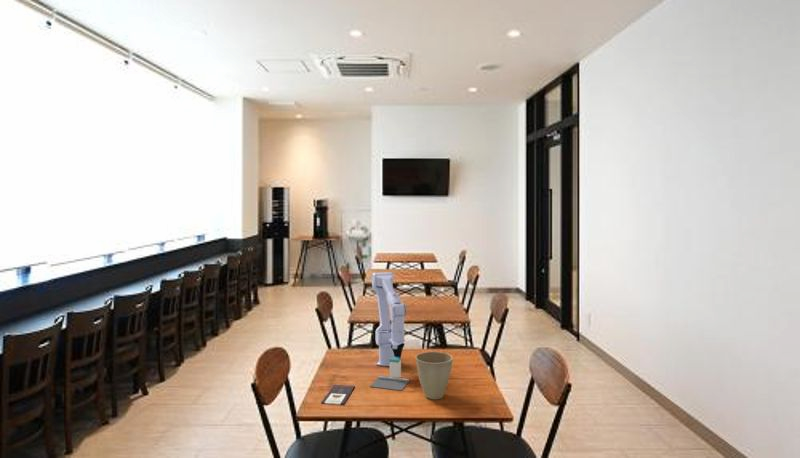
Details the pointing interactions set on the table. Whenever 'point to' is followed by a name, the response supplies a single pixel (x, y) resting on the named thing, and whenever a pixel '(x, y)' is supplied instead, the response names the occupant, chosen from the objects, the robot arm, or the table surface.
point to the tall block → (395, 367)
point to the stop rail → (393, 378)
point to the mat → (389, 384)
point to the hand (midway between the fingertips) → (397, 360)
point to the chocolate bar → (338, 395)
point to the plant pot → (434, 373)
